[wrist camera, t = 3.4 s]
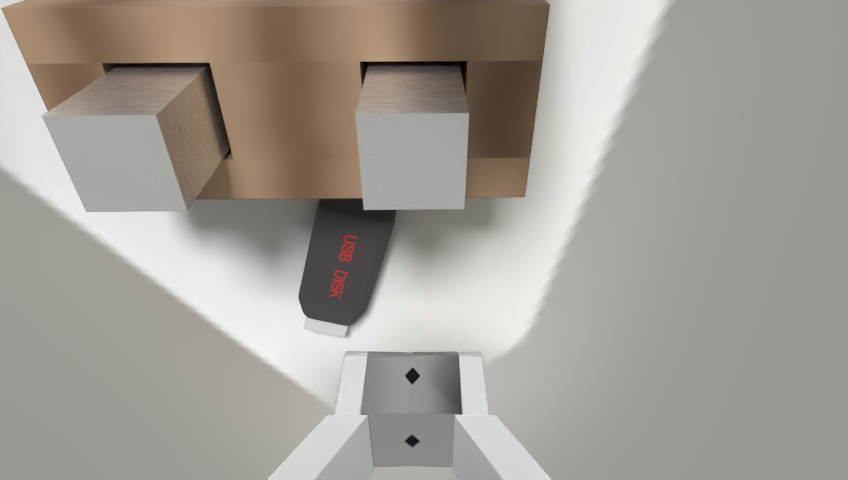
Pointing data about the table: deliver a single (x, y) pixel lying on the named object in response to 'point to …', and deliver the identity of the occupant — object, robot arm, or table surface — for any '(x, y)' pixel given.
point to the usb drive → (342, 263)
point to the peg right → (413, 135)
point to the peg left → (141, 137)
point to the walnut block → (305, 76)
